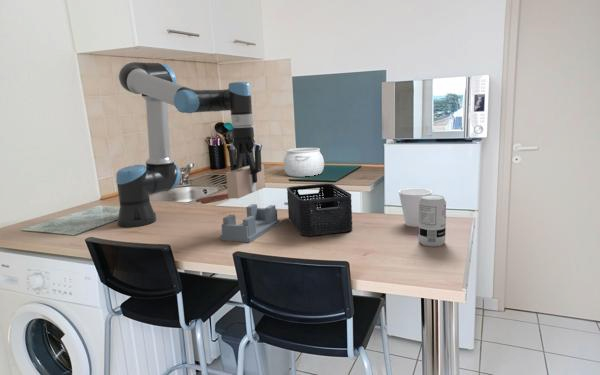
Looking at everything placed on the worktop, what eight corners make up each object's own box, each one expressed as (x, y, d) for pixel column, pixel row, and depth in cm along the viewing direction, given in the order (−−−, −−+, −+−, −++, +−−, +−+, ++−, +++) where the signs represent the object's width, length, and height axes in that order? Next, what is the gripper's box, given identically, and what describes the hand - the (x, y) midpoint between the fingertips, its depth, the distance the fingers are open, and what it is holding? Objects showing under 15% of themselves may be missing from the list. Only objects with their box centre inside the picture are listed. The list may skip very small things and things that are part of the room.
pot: (325, 177, 264) (324, 150, 261) (282, 179, 265) (281, 152, 262) (323, 170, 292) (322, 146, 289) (285, 171, 293) (283, 148, 290)
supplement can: (414, 239, 140) (415, 195, 137) (439, 238, 141) (439, 193, 138) (423, 248, 132) (424, 201, 129) (449, 246, 133) (450, 199, 130)
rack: (220, 239, 150) (218, 219, 149) (253, 221, 172) (251, 203, 170) (250, 242, 145) (248, 221, 144) (280, 223, 167) (279, 204, 166)
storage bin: (286, 217, 175) (285, 185, 173) (332, 213, 179) (331, 182, 177) (302, 238, 148) (300, 200, 145) (355, 232, 152) (354, 195, 149)
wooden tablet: (205, 205, 207) (205, 201, 207) (194, 202, 214) (194, 199, 214) (249, 195, 225) (249, 192, 224) (238, 193, 232) (238, 190, 231)
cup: (409, 218, 166) (409, 186, 163) (437, 223, 157) (438, 190, 155) (392, 225, 158) (392, 192, 155) (421, 230, 149) (421, 196, 147)
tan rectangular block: (228, 198, 147) (226, 172, 146) (256, 186, 165) (254, 164, 164) (238, 198, 146) (236, 172, 144) (265, 187, 164) (263, 164, 162)
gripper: (216, 128, 151) (222, 192, 156) (258, 126, 144) (263, 194, 149) (227, 126, 158) (233, 188, 162) (268, 125, 151) (273, 189, 156)
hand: (247, 191), depth 156 cm, fingers closed on tan rectangular block, 4 cm apart
